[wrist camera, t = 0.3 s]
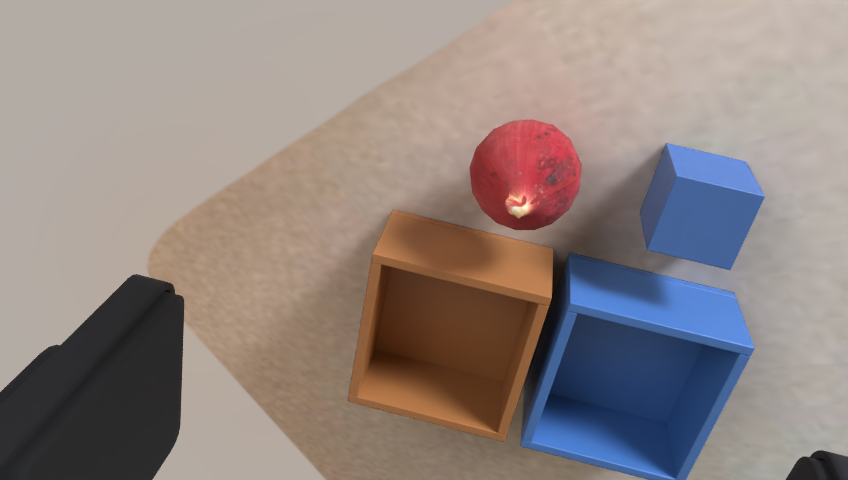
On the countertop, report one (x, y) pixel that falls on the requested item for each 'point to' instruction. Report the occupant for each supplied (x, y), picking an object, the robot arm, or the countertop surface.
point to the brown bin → (450, 324)
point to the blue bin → (632, 369)
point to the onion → (525, 174)
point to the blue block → (700, 206)
